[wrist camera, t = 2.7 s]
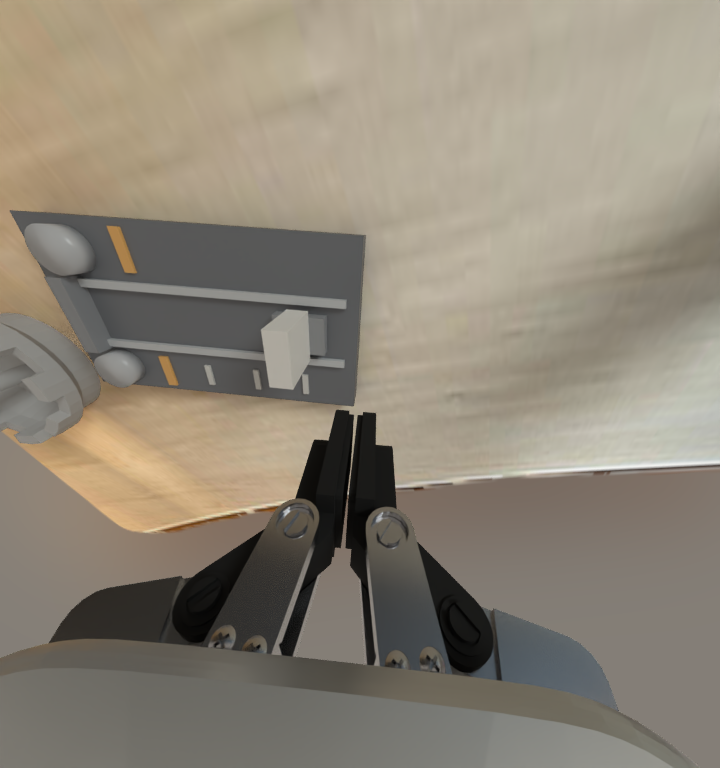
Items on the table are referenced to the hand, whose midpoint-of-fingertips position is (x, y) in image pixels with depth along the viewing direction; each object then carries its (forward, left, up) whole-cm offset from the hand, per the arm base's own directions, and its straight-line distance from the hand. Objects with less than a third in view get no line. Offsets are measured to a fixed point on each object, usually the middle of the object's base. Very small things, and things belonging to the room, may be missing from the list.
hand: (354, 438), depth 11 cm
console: (+13, 0, -13) cm, 19 cm away
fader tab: (+5, 0, -11) cm, 12 cm away
